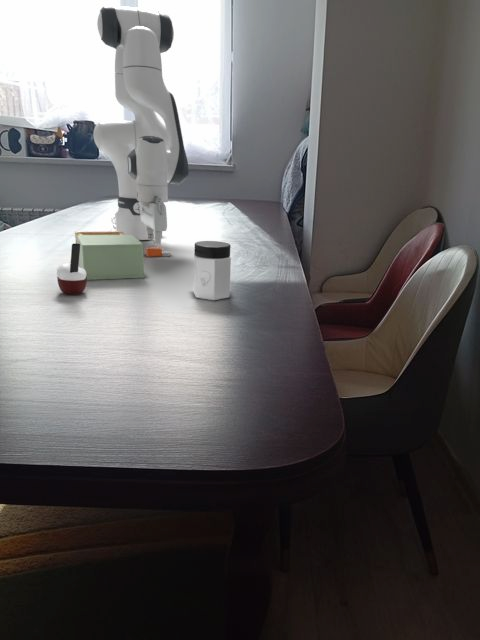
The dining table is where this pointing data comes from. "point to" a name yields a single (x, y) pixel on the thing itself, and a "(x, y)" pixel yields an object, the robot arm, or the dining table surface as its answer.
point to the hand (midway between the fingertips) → (153, 242)
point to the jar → (212, 270)
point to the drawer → (98, 233)
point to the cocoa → (72, 274)
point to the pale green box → (111, 256)
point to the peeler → (156, 252)
